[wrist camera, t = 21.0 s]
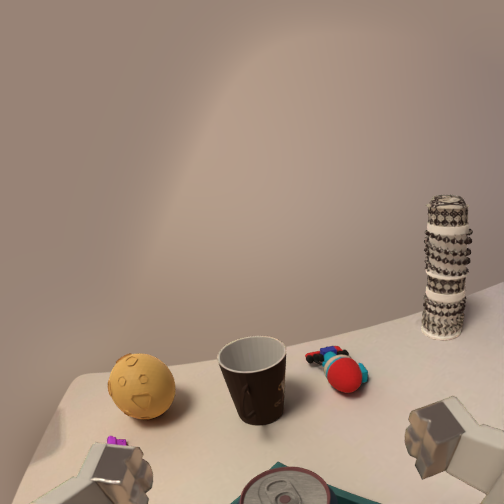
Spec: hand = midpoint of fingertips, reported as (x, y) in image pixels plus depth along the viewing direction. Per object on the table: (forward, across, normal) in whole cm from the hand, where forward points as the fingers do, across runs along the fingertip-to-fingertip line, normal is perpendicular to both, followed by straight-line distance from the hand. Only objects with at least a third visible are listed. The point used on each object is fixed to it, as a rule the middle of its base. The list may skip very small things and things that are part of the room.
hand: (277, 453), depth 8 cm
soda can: (+5, 0, +23) cm, 24 cm away
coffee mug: (+27, +3, +24) cm, 36 cm away
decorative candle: (+39, -33, +24) cm, 57 cm away
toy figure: (+34, -10, +24) cm, 43 cm away
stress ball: (+29, +19, +24) cm, 42 cm away
